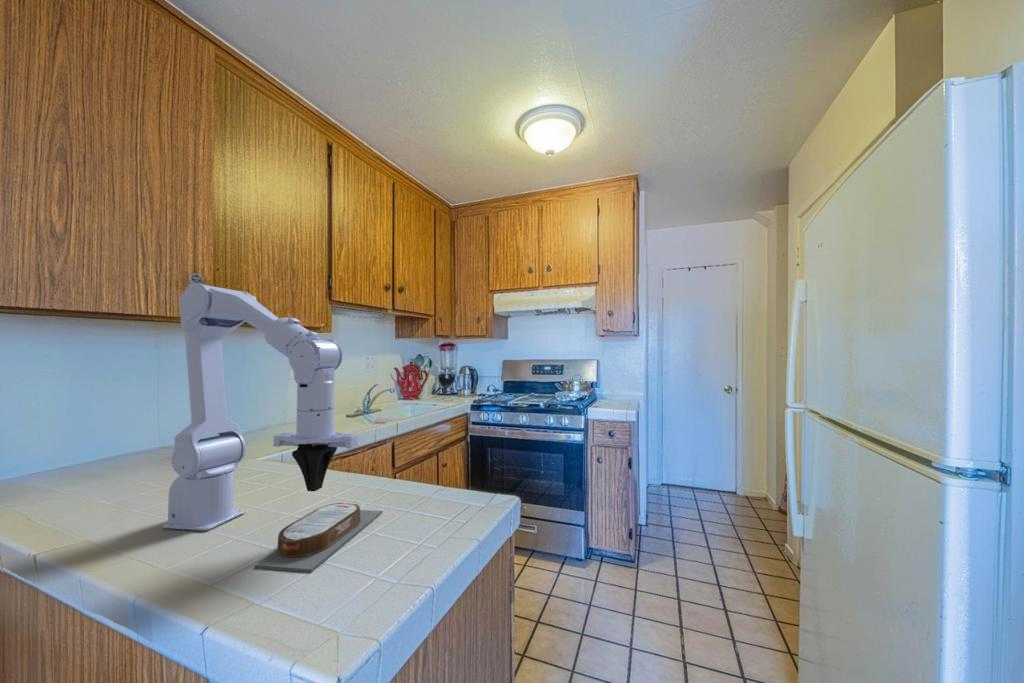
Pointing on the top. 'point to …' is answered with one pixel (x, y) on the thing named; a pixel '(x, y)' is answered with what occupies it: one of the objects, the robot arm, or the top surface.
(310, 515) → the tin
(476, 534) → the top surface
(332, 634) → the top surface
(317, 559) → the rubber mat
